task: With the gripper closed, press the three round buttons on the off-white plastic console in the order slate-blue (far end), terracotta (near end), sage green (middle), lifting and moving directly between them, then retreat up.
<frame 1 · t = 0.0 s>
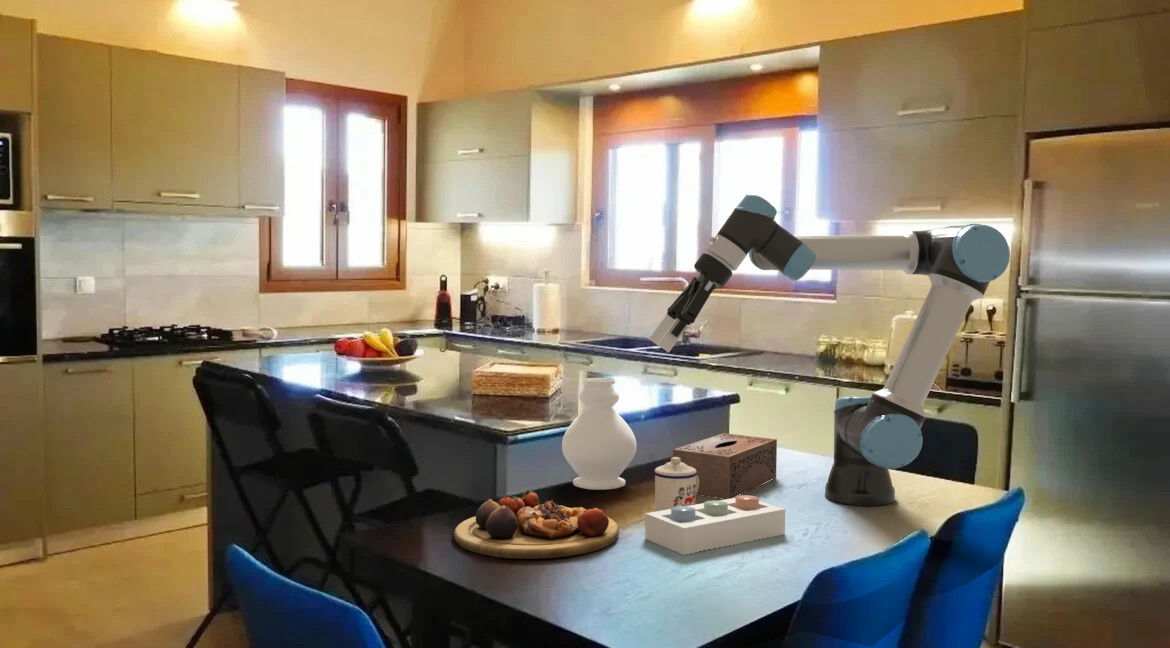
hand: (658, 345, 199), 36 cm above the table, tool tilted 35°, fingers open, 13 cm apart
console: (715, 536, 188), on the table
decorative vase: (599, 484, 232), on the table
button slate: (683, 519, 183), point 5 cm above the table, slide at 0.0 cm
teacup with lid: (679, 511, 207), on the table
wooden plate with food: (537, 539, 188), on the table
button sage: (715, 513, 187), point 5 cm above the table, slide at 0.0 cm
tissue box cover: (725, 486, 231), on the table
button terracotta: (747, 508, 192), point 5 cm above the table, slide at 0.0 cm
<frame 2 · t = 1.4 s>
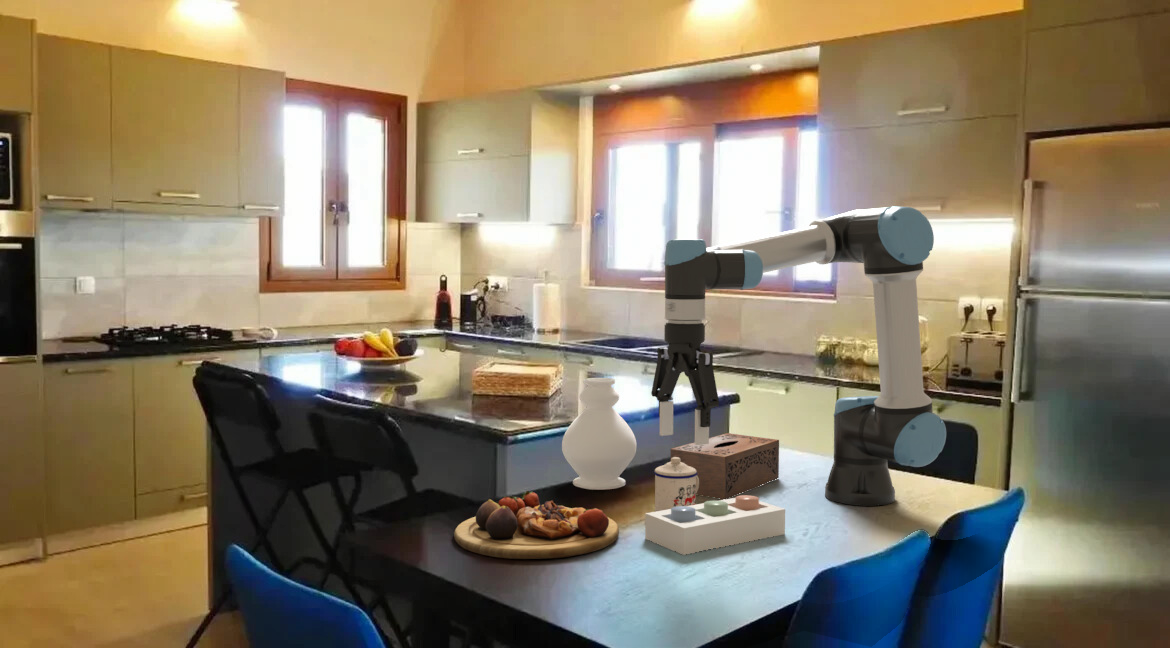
hand: (683, 439, 182), 20 cm above the table, tool pointing down, fingers open, 10 cm apart
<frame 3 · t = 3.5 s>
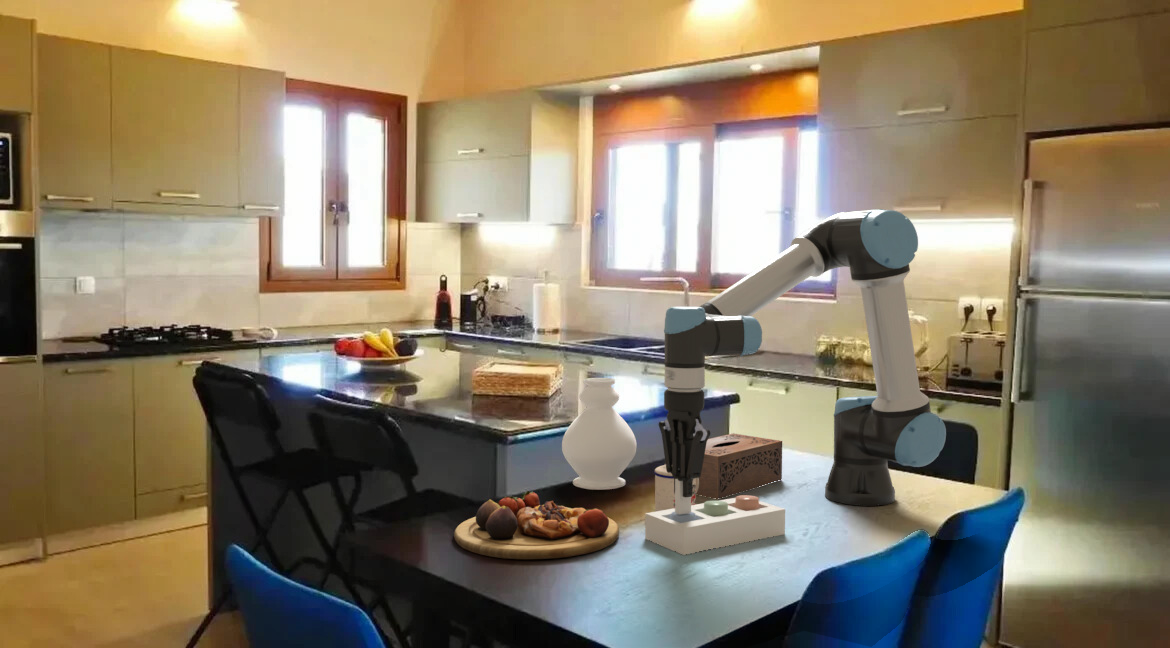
hand: (682, 512, 183), 6 cm above the table, tool pointing down, fingers closed
button slate: (683, 524, 183), point 4 cm above the table, slide at 0.9 cm, touching gripper
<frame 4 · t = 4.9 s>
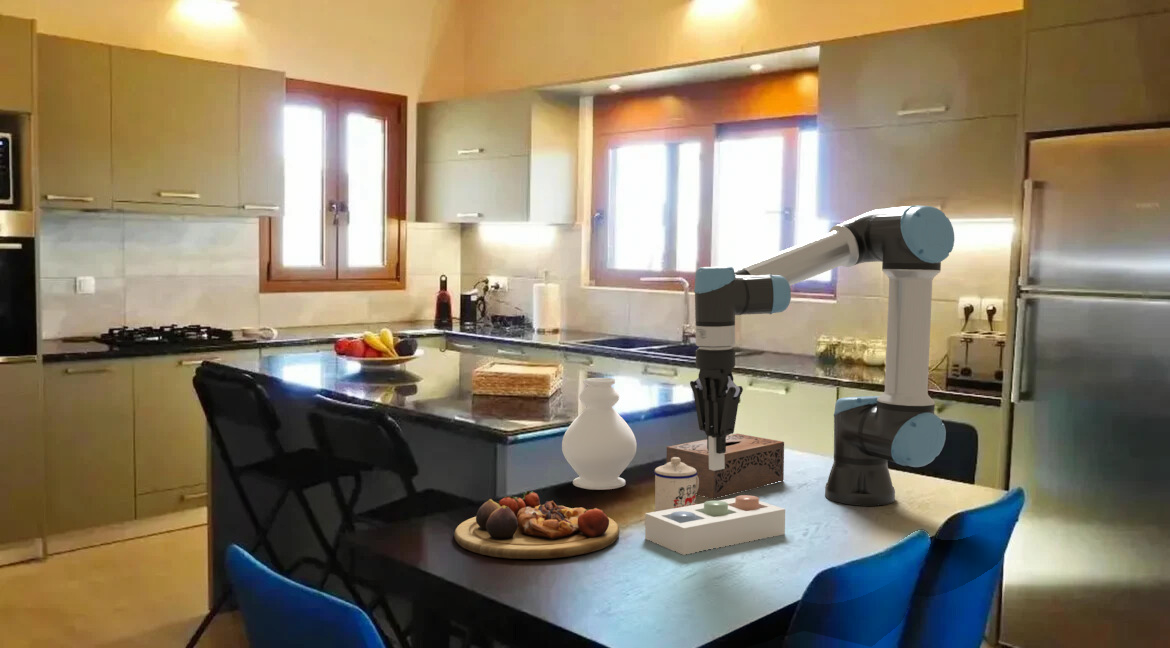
hand: (716, 468, 187), 13 cm above the table, tool pointing down, fingers closed
button slate: (683, 524, 183), point 3 cm above the table, slide at 1.0 cm
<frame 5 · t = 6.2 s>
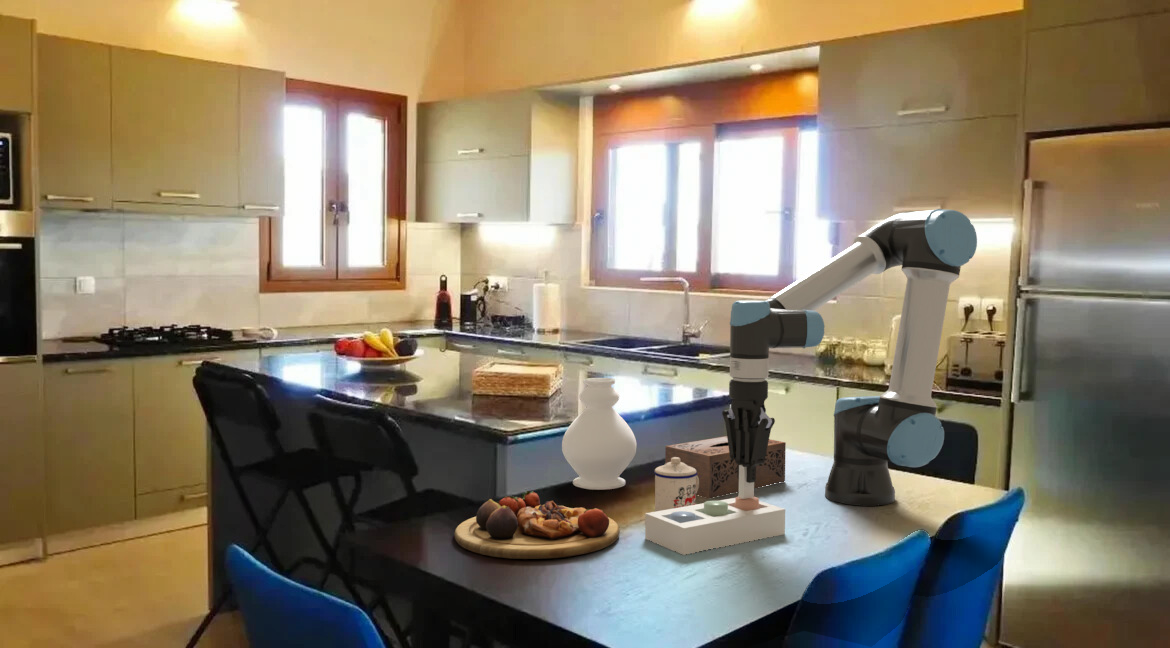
hand: (746, 497, 191), 7 cm above the table, tool pointing down, fingers closed
button terracotta: (747, 508, 192), point 4 cm above the table, slide at 0.1 cm, touching gripper
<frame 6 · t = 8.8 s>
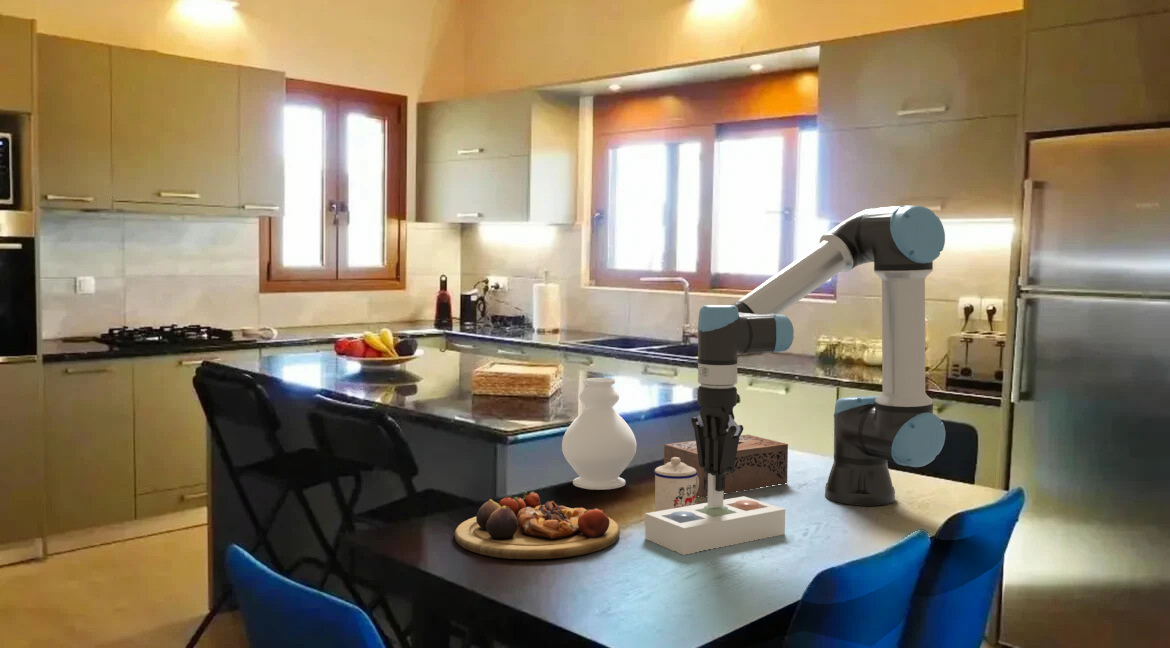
hand: (715, 506, 187), 6 cm above the table, tool pointing down, fingers closed
button sage: (715, 517, 187), point 4 cm above the table, slide at 0.8 cm, touching gripper
button terracotta: (746, 513, 192), point 3 cm above the table, slide at 1.0 cm
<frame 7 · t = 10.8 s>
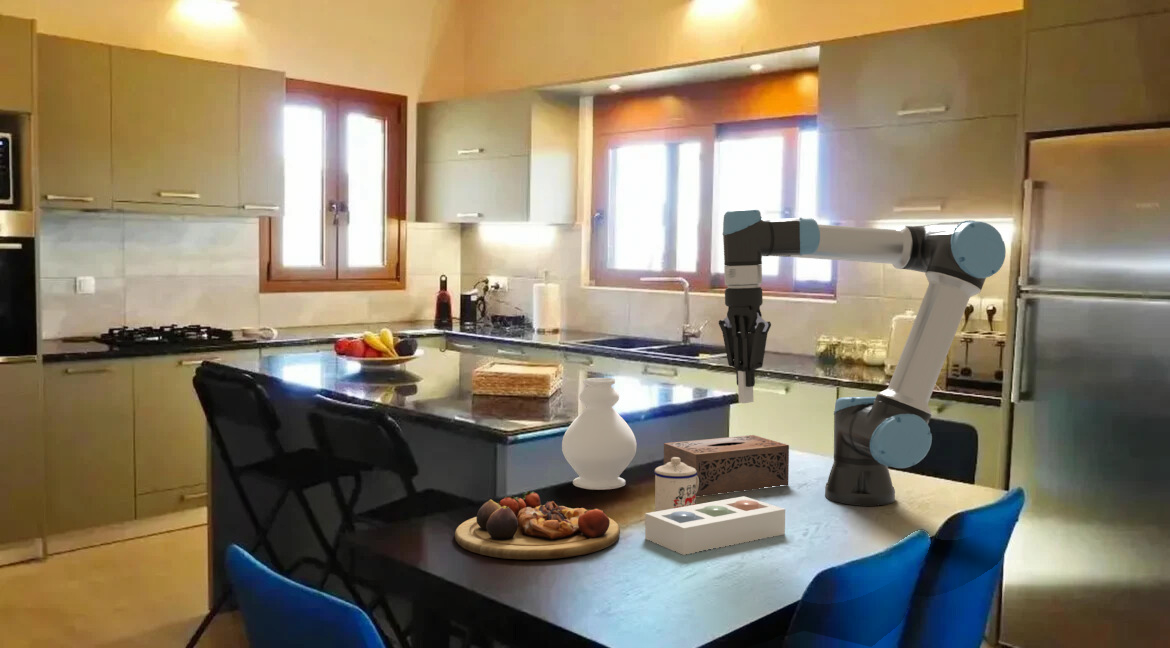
hand: (746, 402, 197), 25 cm above the table, tool pointing down, fingers closed
button sage: (715, 518, 187), point 3 cm above the table, slide at 1.0 cm
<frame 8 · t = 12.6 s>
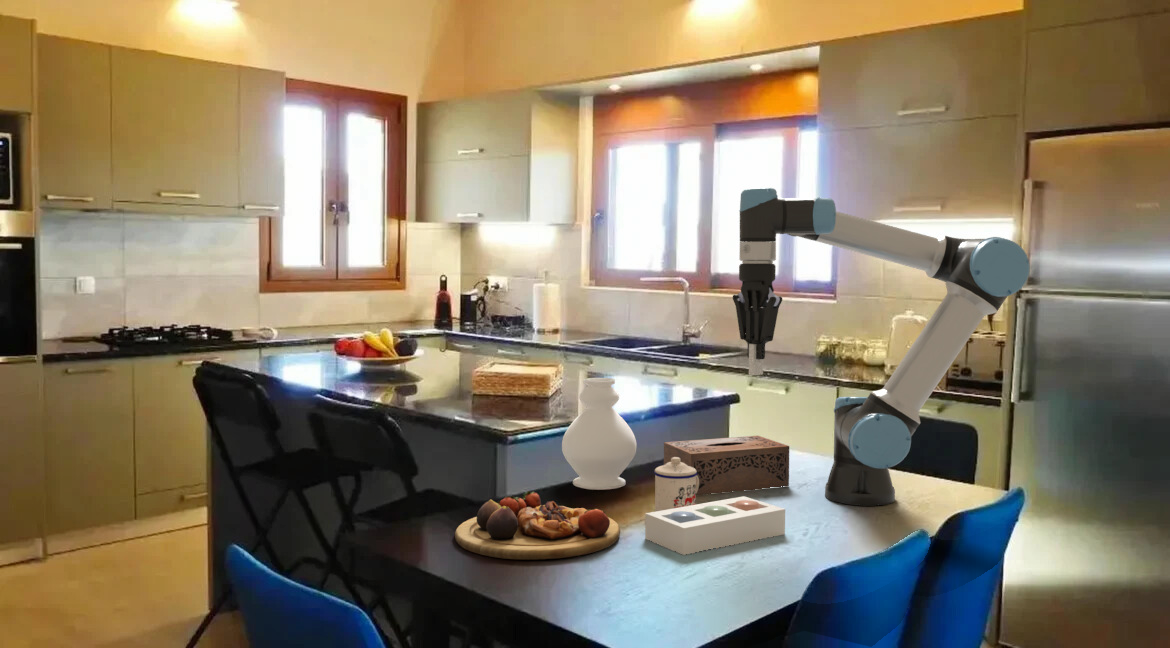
hand: (755, 374, 204), 29 cm above the table, tool pointing down, fingers closed
at the end: button slate slide at 1.0 cm; button terracotta slide at 1.0 cm; button sage slide at 1.0 cm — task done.
